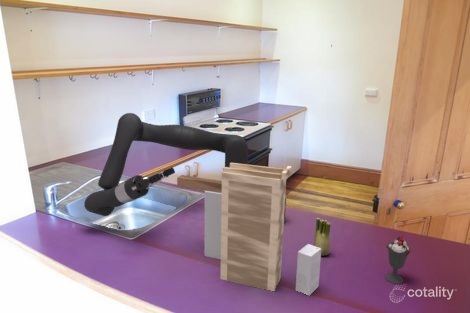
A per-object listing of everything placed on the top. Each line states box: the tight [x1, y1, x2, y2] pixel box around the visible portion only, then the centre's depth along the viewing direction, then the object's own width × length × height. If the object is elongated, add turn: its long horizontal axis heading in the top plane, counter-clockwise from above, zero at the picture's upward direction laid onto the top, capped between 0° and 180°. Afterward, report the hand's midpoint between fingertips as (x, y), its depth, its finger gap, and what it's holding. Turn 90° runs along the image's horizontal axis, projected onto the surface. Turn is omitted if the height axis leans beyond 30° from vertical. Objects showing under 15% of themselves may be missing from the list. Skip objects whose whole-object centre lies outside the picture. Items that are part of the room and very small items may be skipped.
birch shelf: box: [220, 163, 293, 292], centre depth 98 cm, size 7×17×34 cm, turn 69°
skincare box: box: [295, 243, 322, 296], centre depth 97 cm, size 6×4×12 cm
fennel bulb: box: [314, 217, 332, 257], centre depth 117 cm, size 6×5×12 cm
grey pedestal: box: [204, 190, 222, 261], centre depth 113 cm, size 5×8×22 cm, turn 69°
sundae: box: [384, 234, 412, 285], centre depth 102 cm, size 7×7×15 cm
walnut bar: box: [176, 174, 222, 193], centre depth 111 cm, size 3×26×3 cm, turn 69°
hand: (166, 172), depth 116 cm, fingers open, 8 cm apart
